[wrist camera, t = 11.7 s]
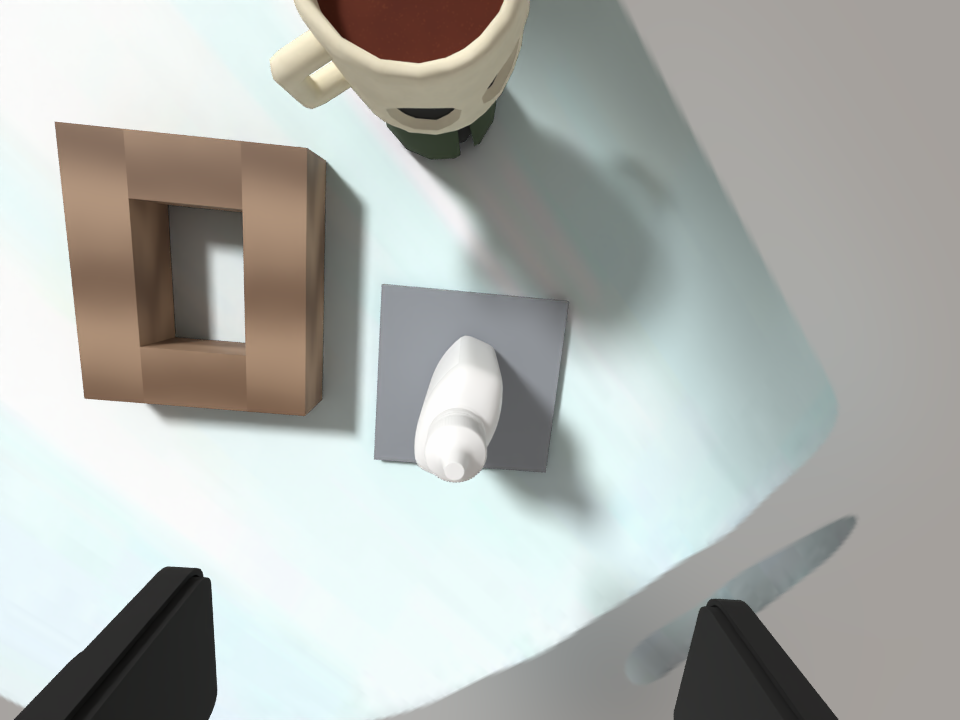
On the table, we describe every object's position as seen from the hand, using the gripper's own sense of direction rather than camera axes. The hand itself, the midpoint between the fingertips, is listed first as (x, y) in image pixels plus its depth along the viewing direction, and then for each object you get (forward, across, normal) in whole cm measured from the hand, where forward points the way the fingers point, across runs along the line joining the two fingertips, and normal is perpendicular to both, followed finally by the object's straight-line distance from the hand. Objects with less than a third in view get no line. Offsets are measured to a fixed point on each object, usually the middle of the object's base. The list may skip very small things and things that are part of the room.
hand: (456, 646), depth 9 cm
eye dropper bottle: (+20, 0, 0) cm, 20 cm away
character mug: (+20, +3, -15) cm, 25 cm away
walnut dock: (+20, +15, -4) cm, 25 cm away
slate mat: (+20, 0, +1) cm, 20 cm away
